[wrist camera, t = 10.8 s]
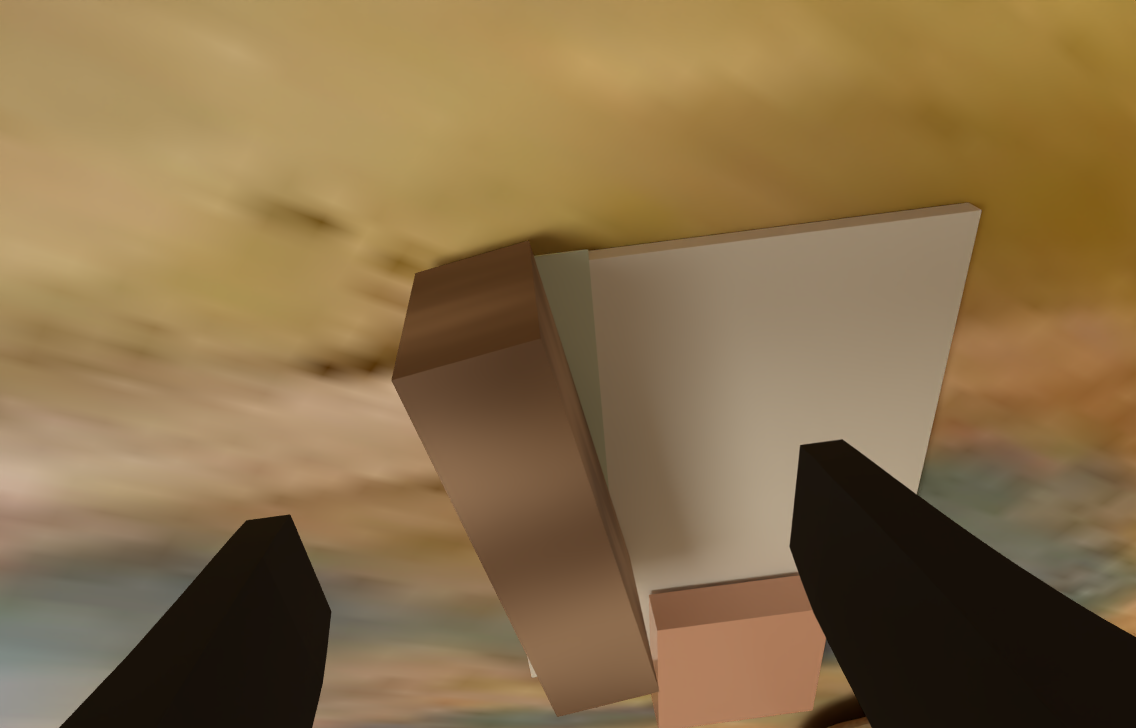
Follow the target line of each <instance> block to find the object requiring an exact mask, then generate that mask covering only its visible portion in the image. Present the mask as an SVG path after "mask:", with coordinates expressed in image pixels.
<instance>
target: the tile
mask: <svg viewBox="0 0 1136 728" xmlns="http://www.w3.org/2000/svg"><path fill="white" fill-rule="evenodd" d="M649 628H650V651H651V655H652V660H653V664H654V669H655V673H656V678H657V682H658V687H659V691H660V692H656V693H652V694H651V697H652V701H653V706H654V711H655V716H656V720H657V725H658V728H686V727H694V726H701V725H708V724H715V723H723V722H730V721H737V720H745V719H752V718H759V717H767V716H774V715H781V714H788V713H796V712H803V711H810V710H813V705H814V700H815V694H816V689H817V684H818V678H819V673H820V668H821V662H822V657H823V652H824V646H825V641H826V637H825V635H824V633H823V631H822V629H821V627H820V625H819V623H818V621H817V619H816V617H815V615H814V613H813V610H812V608H811V605H810V602H809V600H808V597H807V595H806V592H805V589H804V587H803V584H802V581H801V578H800V576H799V575H798V576H790V577H782V578H774V579H767V580H759V581H751V582H743V583H736V584H728V585H720V586H713V587H705V588H697V589H689V590H682V591H674V592H666V593H659V594H651V595H649Z"/></svg>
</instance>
